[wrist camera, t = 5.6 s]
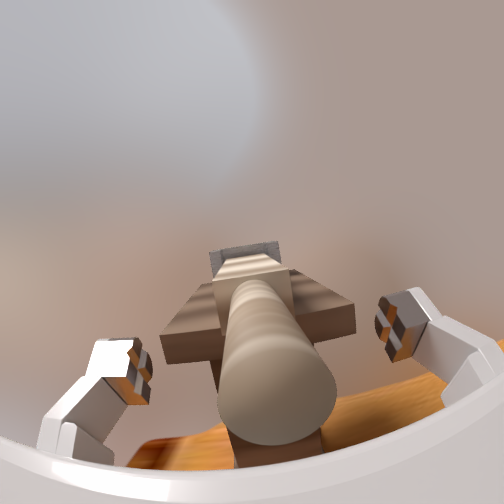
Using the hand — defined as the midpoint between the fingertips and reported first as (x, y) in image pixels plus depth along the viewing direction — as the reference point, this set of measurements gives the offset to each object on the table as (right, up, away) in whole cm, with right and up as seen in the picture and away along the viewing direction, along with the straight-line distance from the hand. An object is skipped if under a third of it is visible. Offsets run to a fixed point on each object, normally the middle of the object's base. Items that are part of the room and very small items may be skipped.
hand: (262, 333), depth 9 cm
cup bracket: (-1, -1, +24) cm, 24 cm away
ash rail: (0, -1, +9) cm, 9 cm away
